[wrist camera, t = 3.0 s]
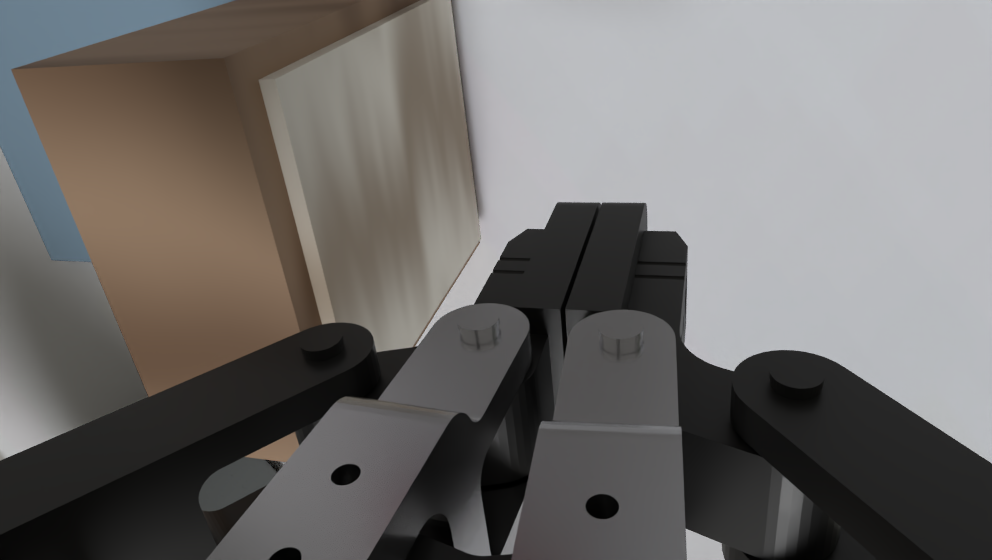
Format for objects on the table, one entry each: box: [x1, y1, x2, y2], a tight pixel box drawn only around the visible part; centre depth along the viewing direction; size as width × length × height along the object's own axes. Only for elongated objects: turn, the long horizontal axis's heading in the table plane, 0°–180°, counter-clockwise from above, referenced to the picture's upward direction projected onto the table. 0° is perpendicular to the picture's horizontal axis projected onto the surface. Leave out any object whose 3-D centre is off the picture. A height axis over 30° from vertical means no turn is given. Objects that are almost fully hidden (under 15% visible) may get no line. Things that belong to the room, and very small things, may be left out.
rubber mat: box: [0, 0, 235, 262], centre depth 24 cm, size 10×12×1 cm
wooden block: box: [11, 0, 481, 462], centre depth 17 cm, size 8×4×10 cm, turn 6°
